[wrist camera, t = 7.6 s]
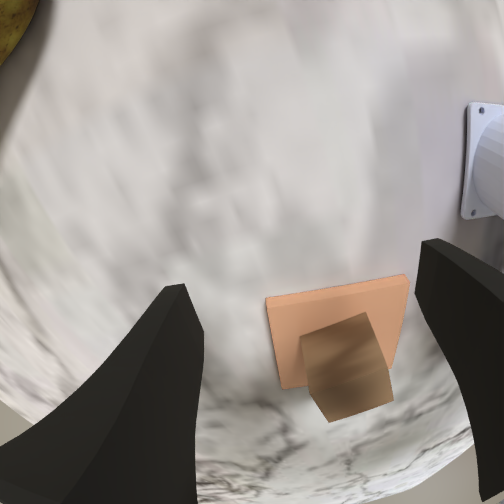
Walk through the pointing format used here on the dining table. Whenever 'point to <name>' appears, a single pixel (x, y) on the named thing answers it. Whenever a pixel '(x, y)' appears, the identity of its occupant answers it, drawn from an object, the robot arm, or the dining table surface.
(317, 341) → the walnut cube
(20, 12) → the olive green oval piece
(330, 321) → the terracotta tile
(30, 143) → the dining table surface
